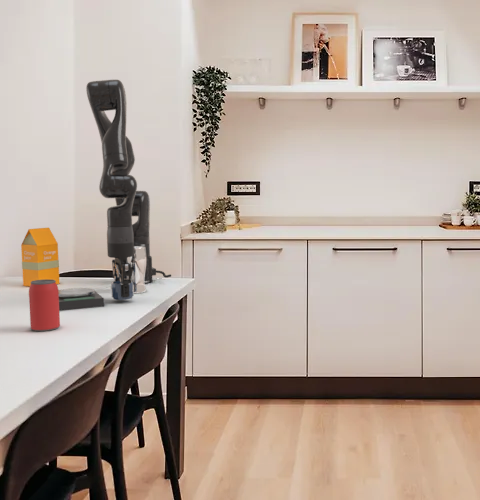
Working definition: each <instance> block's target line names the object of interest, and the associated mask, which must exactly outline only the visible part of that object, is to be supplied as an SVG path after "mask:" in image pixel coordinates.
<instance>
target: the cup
mask: <svg viewBox="0 0 480 500" xmlns="http://www.w3.org/2000/svg"><path fill="white" fill-rule="evenodd" d="M110 289H111V291H110V292H111V298H112V299H113V300H115V301H127V300H132V298H133V297H134V295H135V293H134V290H133V281H131V283H130V285H129V297H124V298H123V297H121V284H120V281H115V280H114V281H112V282H110Z"/></svg>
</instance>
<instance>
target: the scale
mask: <svg viewBox="0 0 480 500" xmlns="http://www.w3.org/2000/svg"><path fill="white" fill-rule="evenodd" d="M100 307H105V297H103V296H102V295H100V294H99V293H98V292H97V291H95V293H94V294H91V295H87V296H80V297H59V312H61V311H69V310H70V311H71V310H79V309H92V308H100Z"/></svg>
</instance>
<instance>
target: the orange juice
mask: <svg viewBox="0 0 480 500" xmlns="http://www.w3.org/2000/svg"><path fill="white" fill-rule="evenodd" d="M20 247H21V249H20V250H21V269H22V287H30V285H31V282H32V281H35V280H46V279H50V280H55V281H56V284H57V285H59V284H60V283H61V281H60V259H59V242H58V241H57V239H56V238H55V235H54V234H53V231H52V230H51V228H50V227H38V228H28V230H27V232H26V234H25V236H24V239H23V241H22V243H21V246H20Z"/></svg>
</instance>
